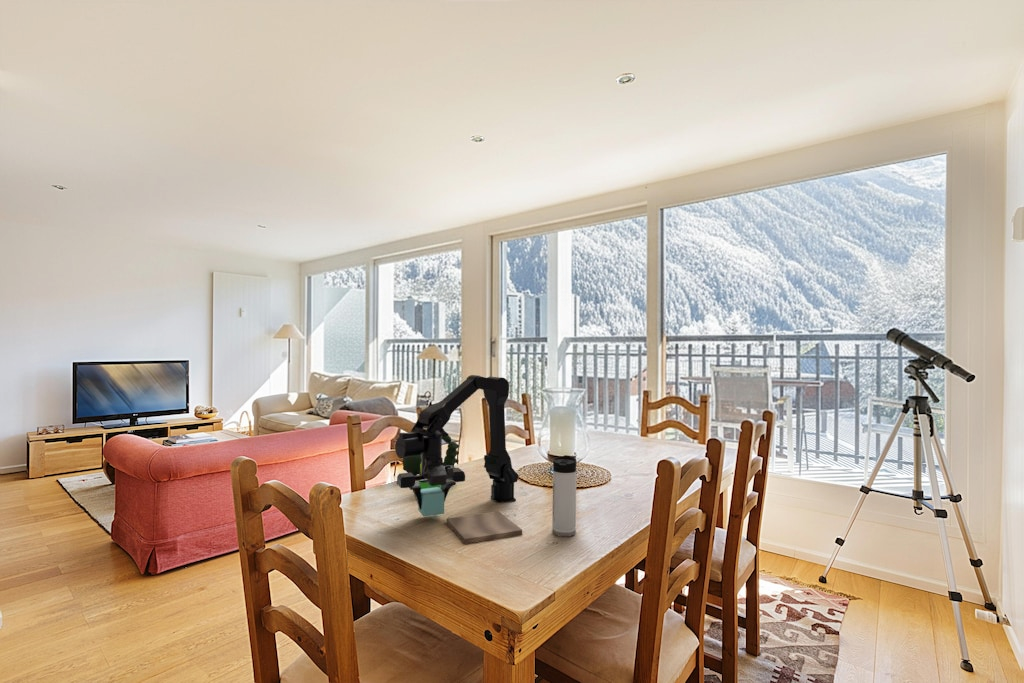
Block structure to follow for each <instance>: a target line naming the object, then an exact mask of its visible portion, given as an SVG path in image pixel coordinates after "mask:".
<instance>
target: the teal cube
mask: <svg viewBox="0 0 1024 683" xmlns="http://www.w3.org/2000/svg"><path fill="white" fill-rule="evenodd" d="M421 503H422V506H421V509H419V506H418V505H417V506H418V511H419V513H420V514H421V515H422V517H430V516H437V515H444V514H445V502H444V492H443V491H442V490H441V489H440V488H439V487H435V488H426V489H421Z"/></svg>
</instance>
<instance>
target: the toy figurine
mask: <svg viewBox="0 0 1024 683" xmlns="http://www.w3.org/2000/svg"><path fill="white" fill-rule="evenodd" d="M442 440H443V441H444V442H445V443H446V444H447V449H446V451H445V456H444V458H443V465H444V466H449V465H452V466H453V468H455V464H457V463H459V459H458V458H456V456H458V455H459V454H460V451H458V450H457V449H458V448H460V445H459V444H458V443H457V442H455V441H454V440H453V441H452V437H451V436H450V435H448V436H445V437H442ZM421 455H422V453H421ZM421 455H418V456H412V457H406V458H402V466H403V468H402V470H403V471H405V473H410V472H411V473H412V474H413V475H414V476H416V475H421V472H420V470H421V468H420V464H421V461H422V459H421Z"/></svg>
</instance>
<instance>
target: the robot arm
mask: <svg viewBox="0 0 1024 683" xmlns="http://www.w3.org/2000/svg"><path fill="white" fill-rule="evenodd" d="M478 390H483V392H482V393H483V397H484V398H485V401H486V402H487V405H488V415H489V441H490V442H489V444H490V445H489V446H490V447H489V448H490V449H489V452H488V453H487V454H484V457H483V459H484V465H483V468H485V471H486V473H487V474H488V477H489V479H490V480H492V484H491V485H490V486H491V487H490V499H492V500H493V502H496V503H497V504H500V503H501V504H503V503H510V502H515V501H517V498H516V497H515V483H517V482H518V480H519V476H520V475H519V474H518V473H517V471H516V470H515V469H514V468H513V464H512V459H511V457H510V455H509V453H508V451H507V447H506V445H507V444H506V443H507V442H506V419H505V418H506V417H505V416H506V414H505V413H506V412H505V411H506V410H505V404H506V401H507V400H508V398H509V393H510V382H509V381H508V380H507V379H506V378H505V377H500V376H488V377H484V376H481V375H478V374H477V375H476V374H471V375H469V376H468V375H467V377H466V378H465V380H464V381H463V382H461V383H460V384H459V385H457V387H456V388H454V390H452V391H451V392H450V393H448V394H447V395H446V396H445V397H444V398H443V399H441V400H440V401H438V402H436V403H433V404H431V405H429V406H427V407H425V408H423V409H422V410H421V411H420V413H419V414H418V419H417V421H416V422H415V423H414V425H413V426H412V428H411V430H410V432H399V435H398V437H397V439H396V441H395V444H394V449H395V454H396V456H397V457H398V458H399V459H403V458H406V457H412V456H418V455H421V453H422V455H421V459H422V465H421V475H416V476H414V475H413V474H412V473H411V472H410V473H408V472H401V473H398V475H397V477H396V484H397V485H398V487H399V488H400V489H409V490H410V491H412V492H413V495H414V497H415V500H416V503H417V506H419V509H421V506H422V503H421V487H420V485H419V482H424V481H428V482H429V485H431V486H435V485H441V490H442V491H443V492H444V503H445V502H446V498H447V496H448V493H449V491H450V489H452V487H453V486H456V484H457V483H461V482H466V473H465V471H463V470H462V469H461V468H459V467H454V468H453V466H452V465H449V466H444V465H443V462H444V458H443V457H442V455H443V454H442V453H443V452H442V448H443V447H442V446H443V441H442V440H443V439H442V437H445V436H448V435H449V433H448V432H447V431H446V430H445V429H444V427H445V426H446V424H447V423H448V422H449V421H450V418H451V416H452V414H453V413H454V411H456V409H457V410H458V408H459V407H460V406H461V405H462V404H463V403H465V402H466V401H467V400H468V399H469V398H471V396H472V395H474V393H476V392H477V391H478ZM449 436H450V435H449Z"/></svg>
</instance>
